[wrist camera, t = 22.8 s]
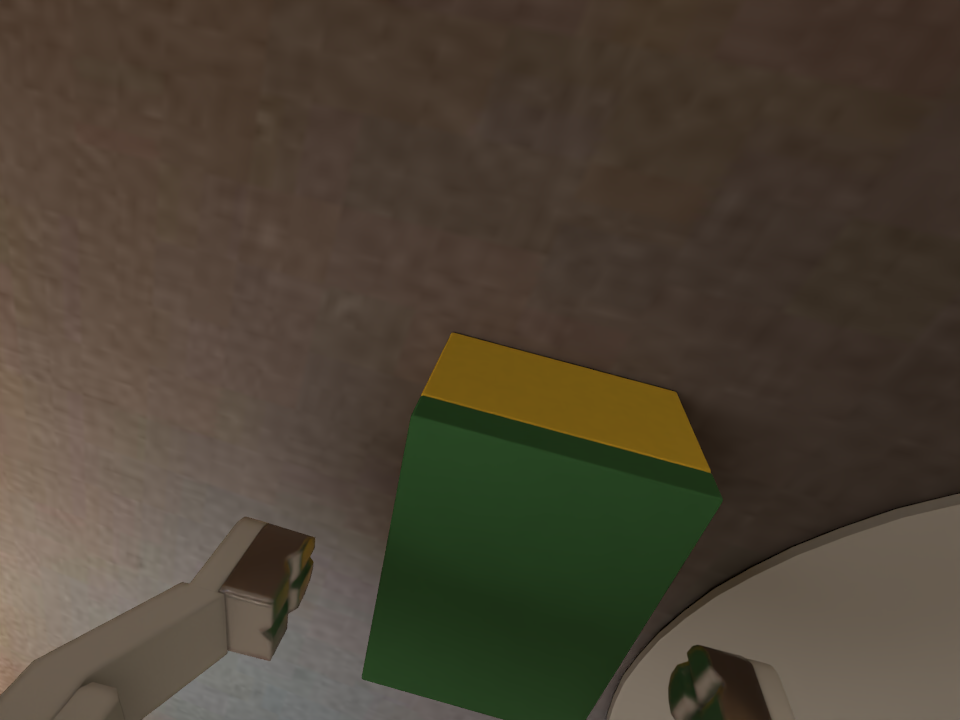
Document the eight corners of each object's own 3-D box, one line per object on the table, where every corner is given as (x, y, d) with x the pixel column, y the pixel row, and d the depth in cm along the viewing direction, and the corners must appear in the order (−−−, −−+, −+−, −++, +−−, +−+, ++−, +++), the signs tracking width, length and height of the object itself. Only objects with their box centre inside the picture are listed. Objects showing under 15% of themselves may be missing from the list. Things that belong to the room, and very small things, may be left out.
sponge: (451, 331, 13) (410, 415, 9) (676, 391, 12) (725, 500, 9) (402, 561, 17) (360, 680, 13) (569, 607, 17) (573, 740, 13)
